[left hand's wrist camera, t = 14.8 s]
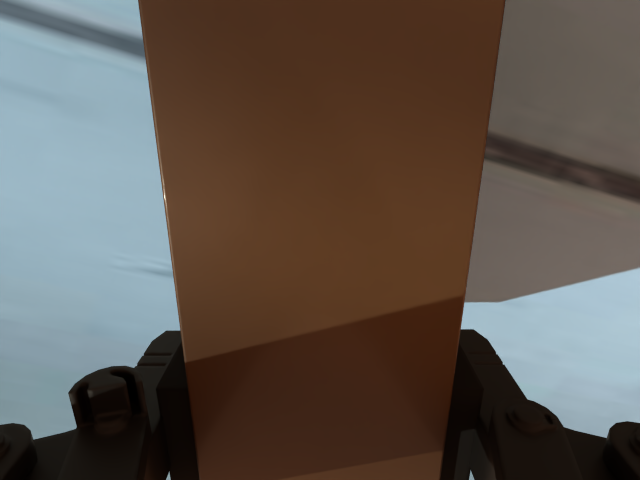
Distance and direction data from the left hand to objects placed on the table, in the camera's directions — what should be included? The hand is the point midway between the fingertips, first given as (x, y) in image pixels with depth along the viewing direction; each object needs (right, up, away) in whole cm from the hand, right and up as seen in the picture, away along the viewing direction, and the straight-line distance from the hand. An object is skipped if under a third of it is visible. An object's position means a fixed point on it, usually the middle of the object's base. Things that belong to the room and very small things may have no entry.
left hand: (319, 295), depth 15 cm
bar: (0, +30, -10) cm, 32 cm away
